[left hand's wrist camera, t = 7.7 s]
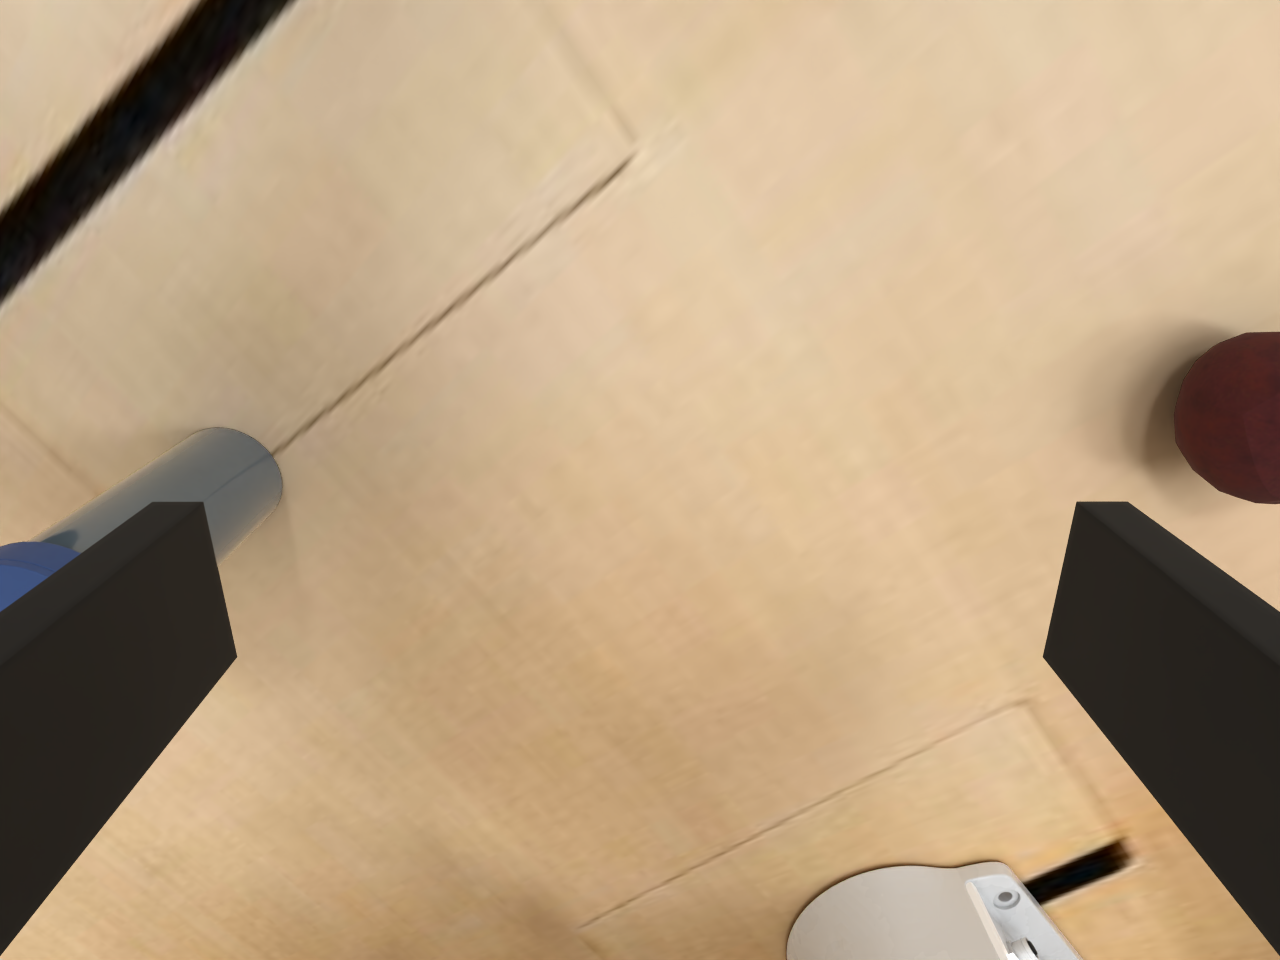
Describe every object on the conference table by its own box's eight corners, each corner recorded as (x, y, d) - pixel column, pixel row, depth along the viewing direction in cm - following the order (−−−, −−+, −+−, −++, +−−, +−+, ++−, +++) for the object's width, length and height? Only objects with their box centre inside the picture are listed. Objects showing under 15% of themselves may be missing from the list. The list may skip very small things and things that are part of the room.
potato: (1175, 493, 42) (1273, 557, 35) (1115, 372, 40) (1209, 417, 33) (1318, 413, 40) (1449, 465, 34) (1265, 283, 38) (1395, 311, 31)
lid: (-46, 653, 30) (-86, 682, 28) (-21, 513, 28) (-62, 536, 26) (124, 712, 31) (96, 743, 29) (161, 581, 29) (132, 607, 27)
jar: (163, 501, 42) (-63, 670, 29) (188, 409, 40) (-41, 544, 27) (266, 541, 43) (95, 724, 30) (295, 453, 41) (126, 605, 28)
